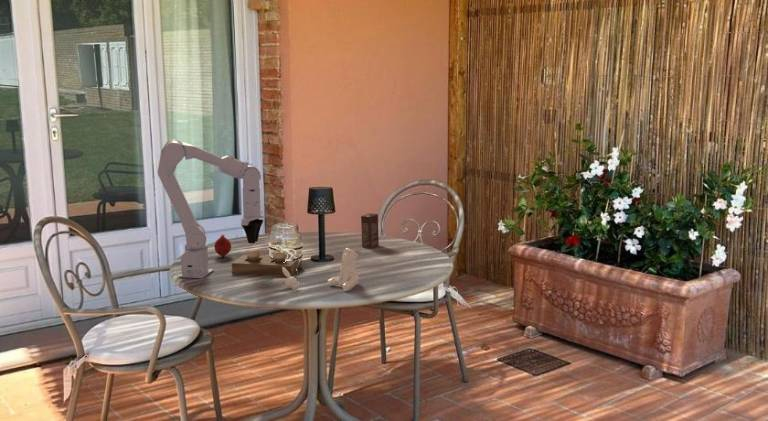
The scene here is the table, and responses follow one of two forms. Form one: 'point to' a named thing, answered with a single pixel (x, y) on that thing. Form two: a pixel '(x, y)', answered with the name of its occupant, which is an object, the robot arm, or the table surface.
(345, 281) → the white creature statuette
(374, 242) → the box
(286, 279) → the rabbit figurine
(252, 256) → the peg
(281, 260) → the peg
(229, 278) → the table surface
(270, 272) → the walnut block
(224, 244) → the onion
